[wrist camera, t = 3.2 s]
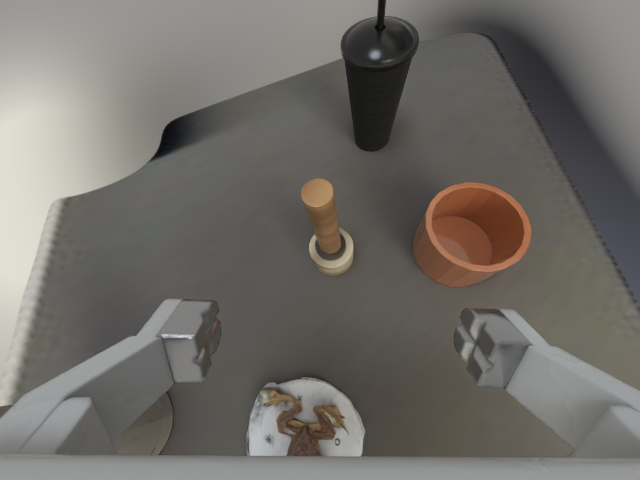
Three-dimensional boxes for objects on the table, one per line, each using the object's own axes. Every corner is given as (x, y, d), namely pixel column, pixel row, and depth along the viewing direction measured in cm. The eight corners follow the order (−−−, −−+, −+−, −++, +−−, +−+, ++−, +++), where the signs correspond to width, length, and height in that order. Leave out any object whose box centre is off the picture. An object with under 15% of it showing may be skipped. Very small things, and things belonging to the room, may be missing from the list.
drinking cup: (375, 169, 37) (394, -5, 19) (334, 142, 40) (316, -33, 22) (409, 134, 39) (458, -59, 20) (368, 110, 41) (377, -80, 23)
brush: (362, 254, 33) (366, 187, 19) (334, 284, 32) (317, 237, 18) (332, 230, 35) (316, 153, 21) (305, 258, 34) (269, 196, 20)
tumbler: (511, 245, 31) (551, 218, 25) (464, 304, 30) (494, 292, 23) (442, 200, 34) (461, 167, 28) (396, 252, 33) (406, 229, 26)
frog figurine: (378, 511, 24) (381, 539, 21) (248, 522, 25) (230, 551, 22) (356, 370, 29) (356, 373, 25) (246, 383, 29) (231, 388, 26)
